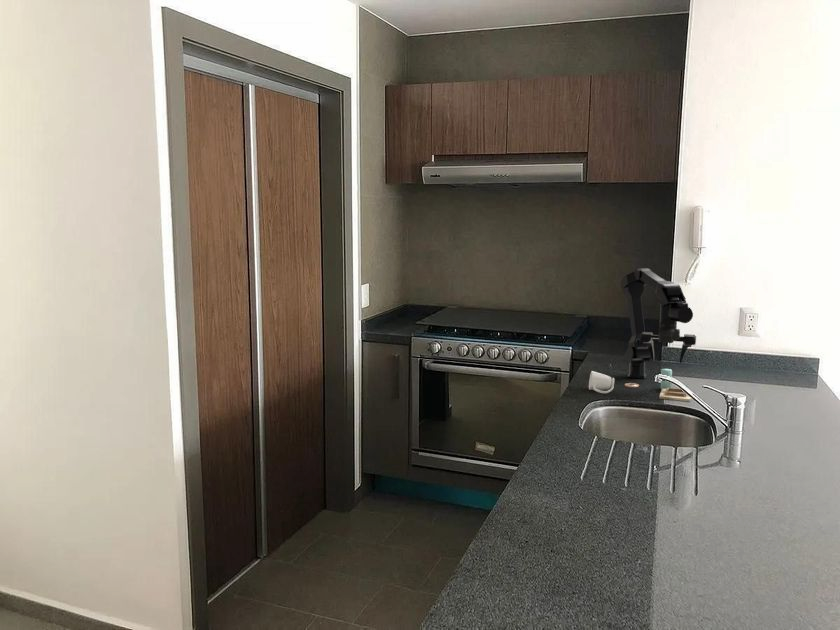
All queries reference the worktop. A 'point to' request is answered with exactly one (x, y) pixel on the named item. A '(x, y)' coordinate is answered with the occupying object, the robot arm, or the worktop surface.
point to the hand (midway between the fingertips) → (666, 362)
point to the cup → (600, 382)
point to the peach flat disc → (631, 385)
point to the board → (674, 394)
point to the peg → (664, 383)
